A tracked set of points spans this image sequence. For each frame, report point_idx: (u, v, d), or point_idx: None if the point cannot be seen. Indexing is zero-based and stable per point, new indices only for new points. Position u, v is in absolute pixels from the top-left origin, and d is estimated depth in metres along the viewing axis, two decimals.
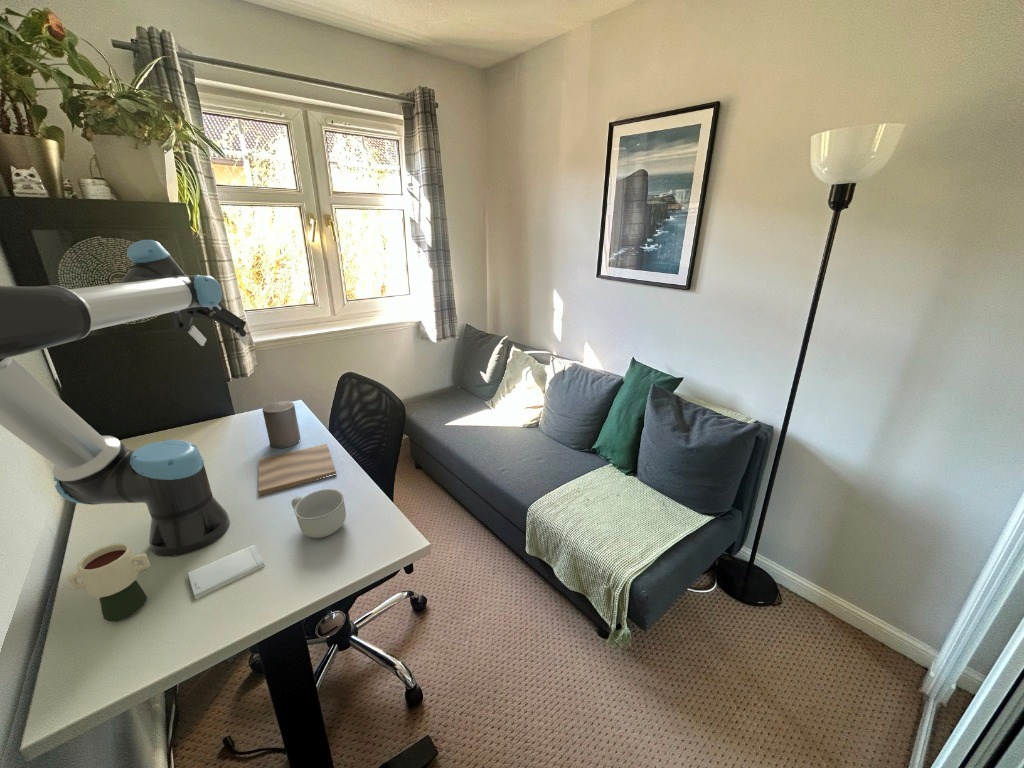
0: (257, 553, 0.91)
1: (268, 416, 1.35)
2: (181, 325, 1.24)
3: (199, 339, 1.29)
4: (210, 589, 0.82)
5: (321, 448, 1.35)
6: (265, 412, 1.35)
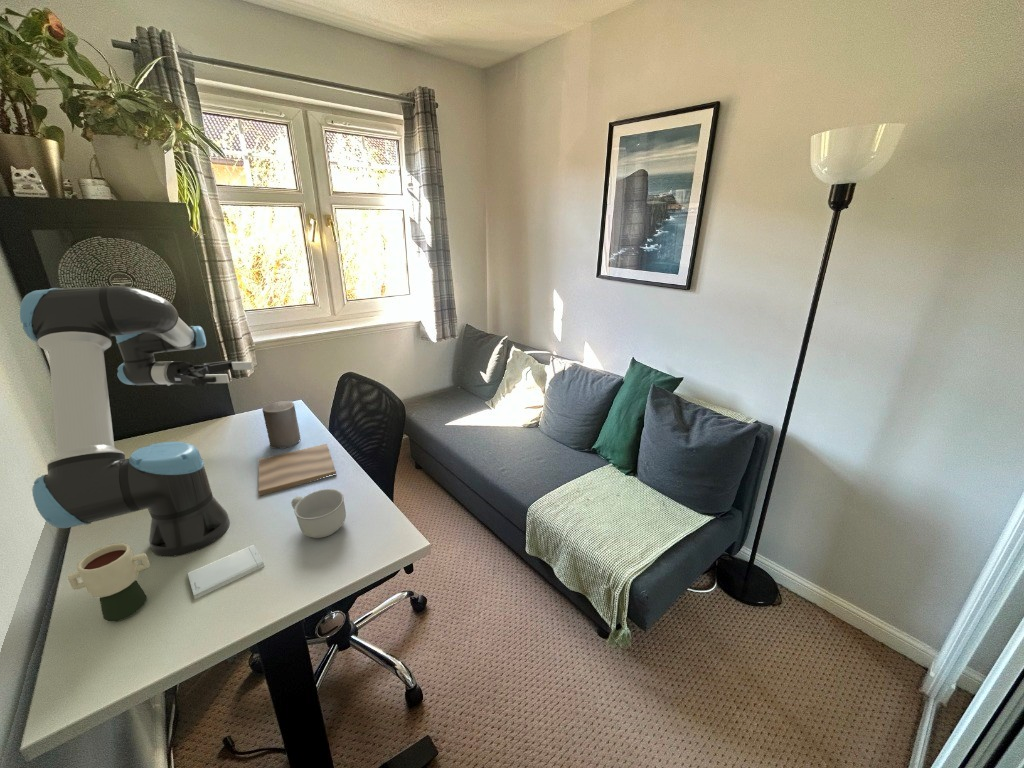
0: (257, 553, 0.91)
1: (268, 416, 1.35)
2: None
3: None
4: (209, 589, 0.82)
5: (321, 448, 1.35)
6: (265, 412, 1.35)
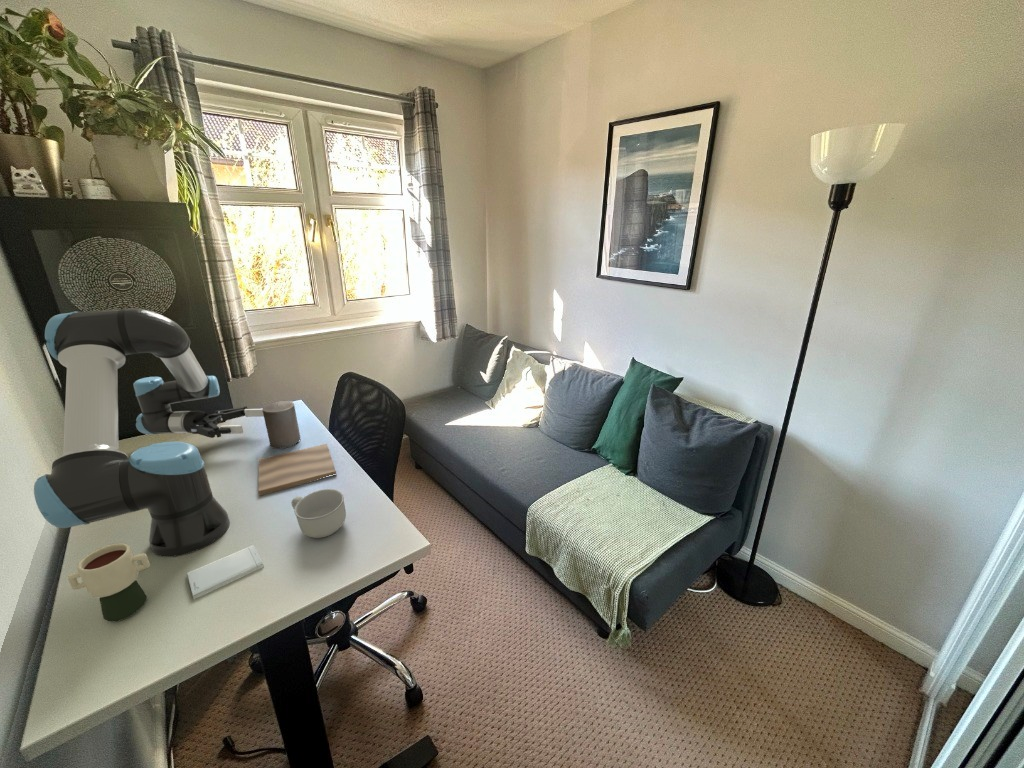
0: (256, 553, 0.91)
1: (268, 416, 1.35)
2: None
3: None
4: (209, 589, 0.82)
5: (321, 448, 1.35)
6: (265, 412, 1.35)
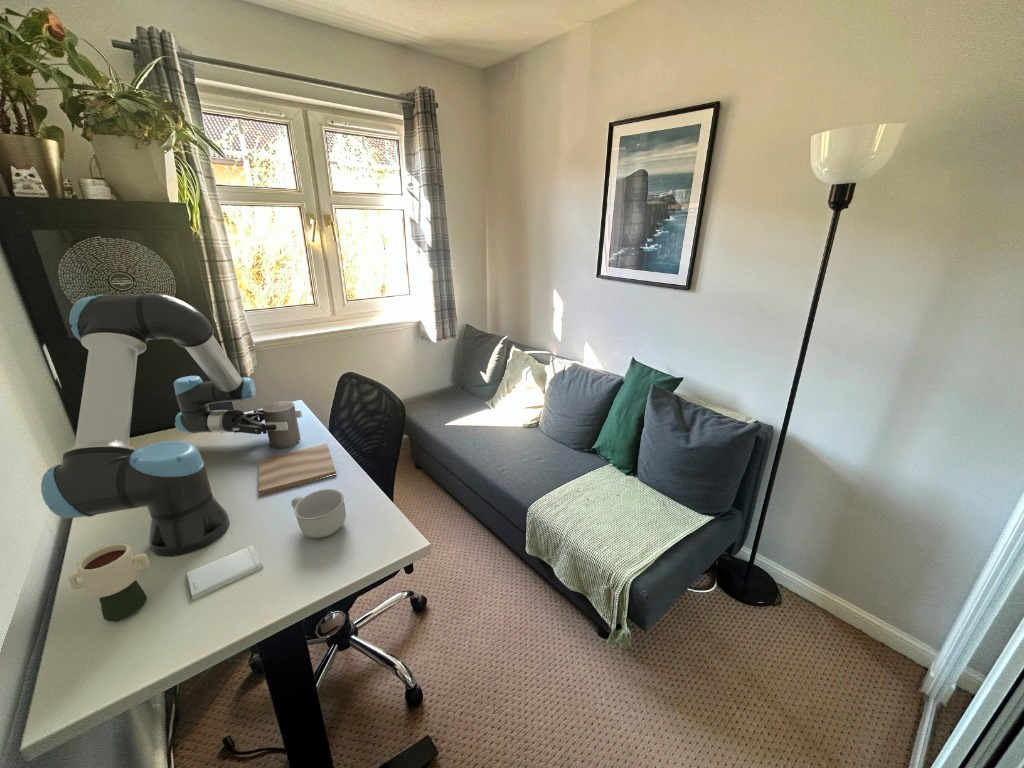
0: (256, 554, 0.91)
1: (268, 416, 1.35)
2: None
3: None
4: (208, 590, 0.82)
5: (321, 448, 1.35)
6: (265, 412, 1.35)
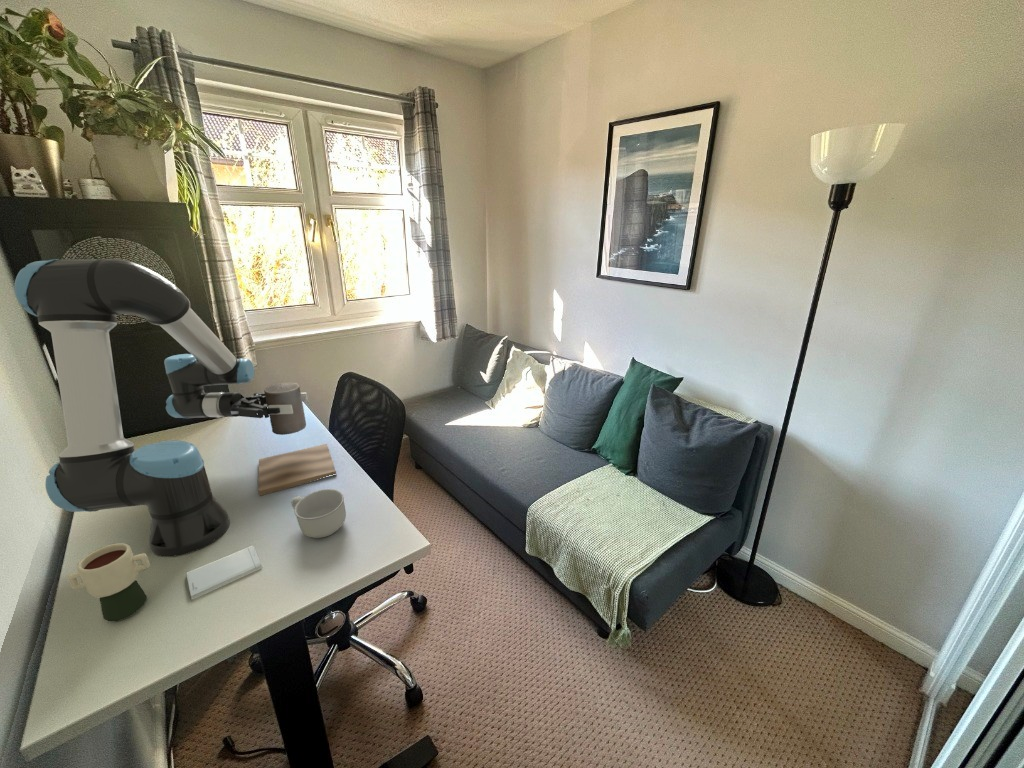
0: (255, 554, 0.91)
1: (270, 398, 1.21)
2: None
3: None
4: (207, 590, 0.82)
5: (321, 448, 1.35)
6: (267, 393, 1.21)
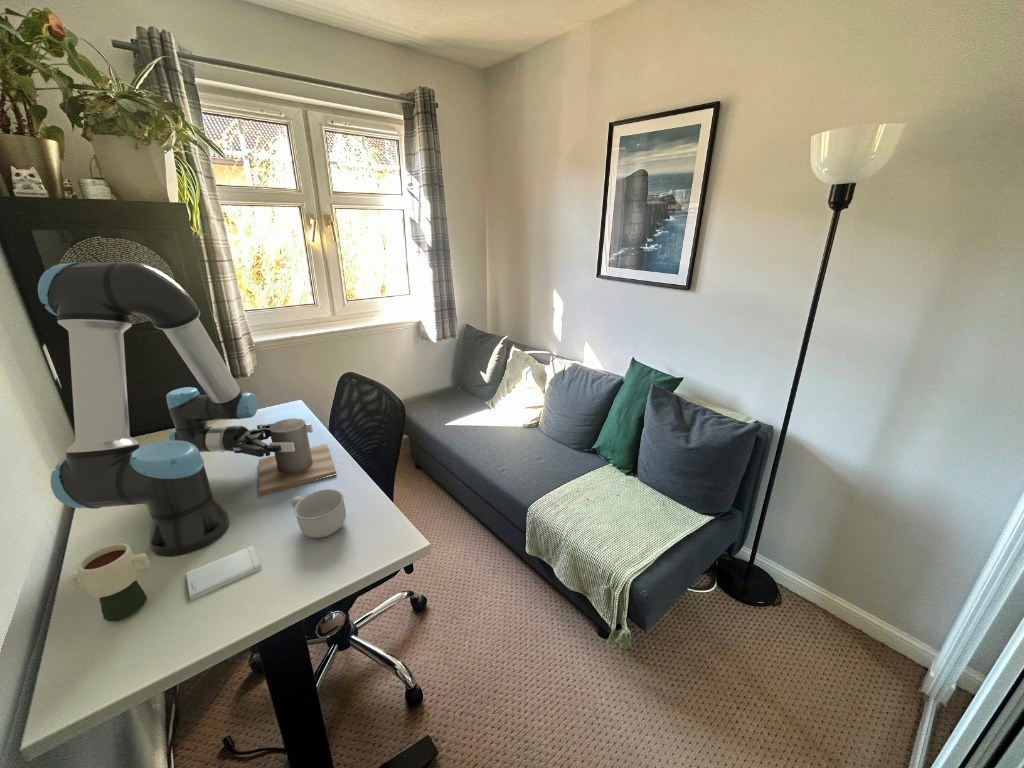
0: (255, 555, 0.91)
1: (276, 437, 1.17)
2: None
3: None
4: (206, 590, 0.82)
5: (321, 448, 1.35)
6: (272, 432, 1.17)
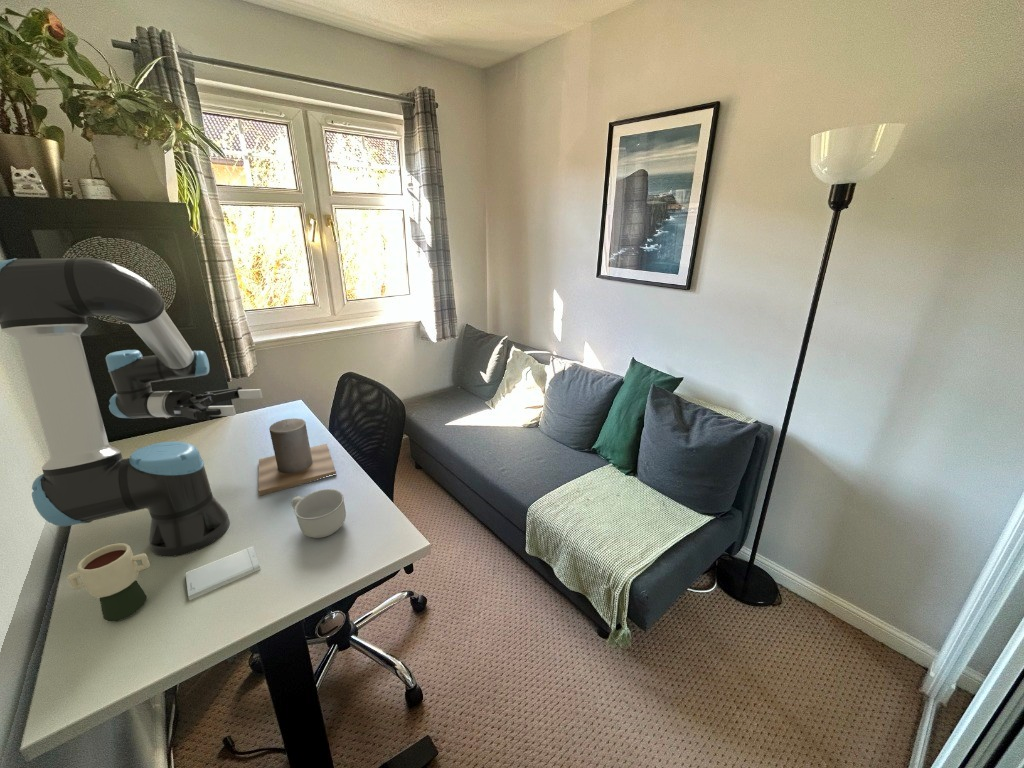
0: (254, 555, 0.90)
1: (276, 437, 1.17)
2: None
3: None
4: (204, 591, 0.82)
5: (321, 448, 1.35)
6: (272, 432, 1.17)
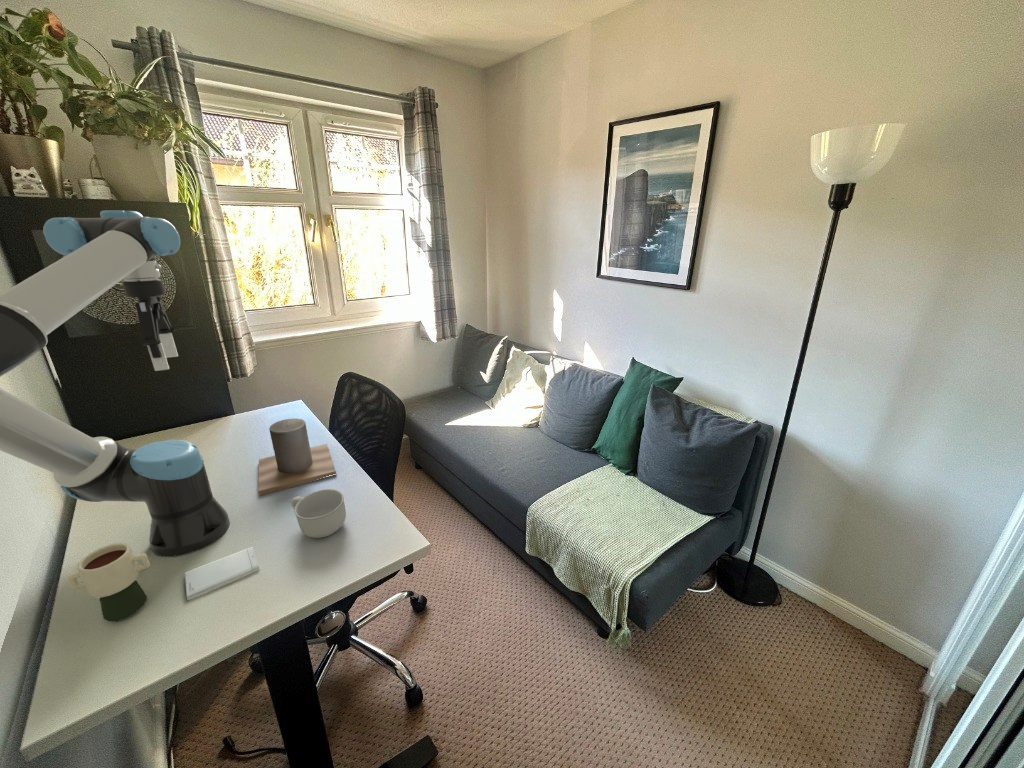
0: (254, 556, 0.90)
1: (276, 437, 1.17)
2: None
3: (165, 349, 1.11)
4: (203, 591, 0.82)
5: (321, 448, 1.35)
6: (272, 432, 1.17)
